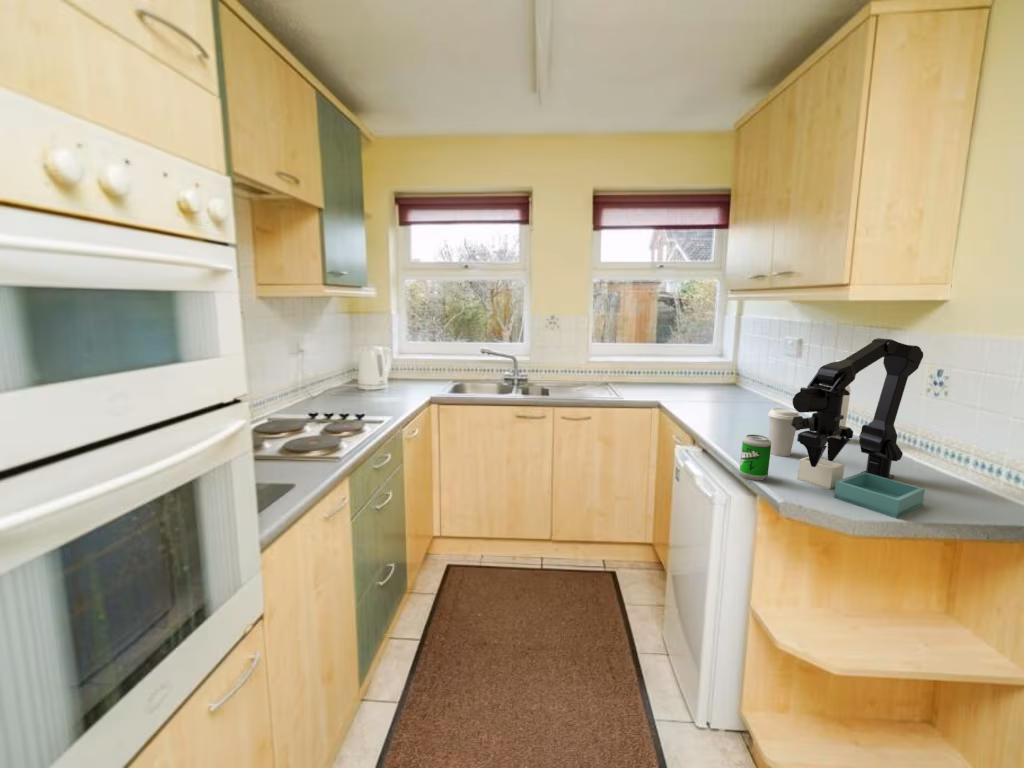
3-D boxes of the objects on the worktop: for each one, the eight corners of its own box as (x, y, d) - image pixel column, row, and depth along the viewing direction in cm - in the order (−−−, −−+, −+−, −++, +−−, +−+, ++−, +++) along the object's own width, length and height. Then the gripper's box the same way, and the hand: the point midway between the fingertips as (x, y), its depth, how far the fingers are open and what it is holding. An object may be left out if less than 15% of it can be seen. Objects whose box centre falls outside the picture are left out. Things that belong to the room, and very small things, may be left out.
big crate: (861, 487, 137) (863, 471, 136) (922, 505, 125) (925, 488, 125) (833, 497, 129) (836, 481, 129) (896, 518, 118) (899, 500, 117)
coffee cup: (767, 456, 163) (772, 412, 160) (760, 448, 172) (765, 406, 169) (799, 459, 161) (805, 414, 158) (790, 450, 170) (795, 408, 167)
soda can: (758, 472, 148) (763, 433, 146) (772, 481, 140) (777, 441, 138) (734, 471, 147) (738, 433, 145) (746, 481, 140) (751, 440, 138)
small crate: (808, 475, 146) (811, 455, 145) (841, 485, 138) (844, 464, 137) (797, 478, 143) (799, 459, 142) (830, 489, 135) (832, 468, 134)
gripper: (816, 402, 148) (810, 451, 151) (781, 408, 139) (775, 461, 142) (857, 409, 139) (849, 461, 142) (823, 416, 129) (815, 473, 132)
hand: (821, 464), depth 140 cm, fingers open, 9 cm apart
